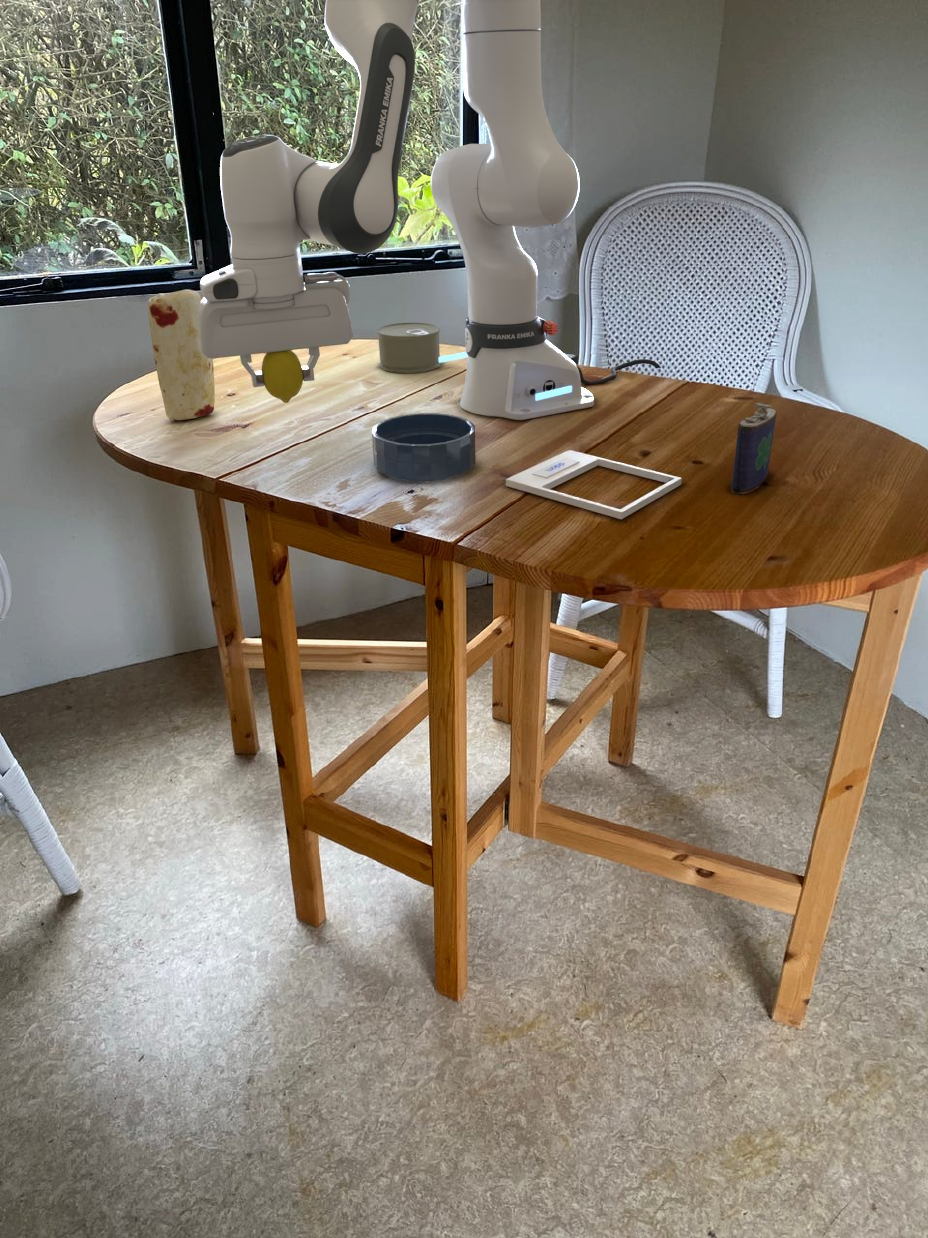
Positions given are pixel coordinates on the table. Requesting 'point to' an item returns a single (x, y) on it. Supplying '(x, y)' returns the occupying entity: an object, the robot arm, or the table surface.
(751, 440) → the flask
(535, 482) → the photo frame
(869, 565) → the table surface
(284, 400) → the lemon
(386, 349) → the can
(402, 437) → the bowl
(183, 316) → the food model
